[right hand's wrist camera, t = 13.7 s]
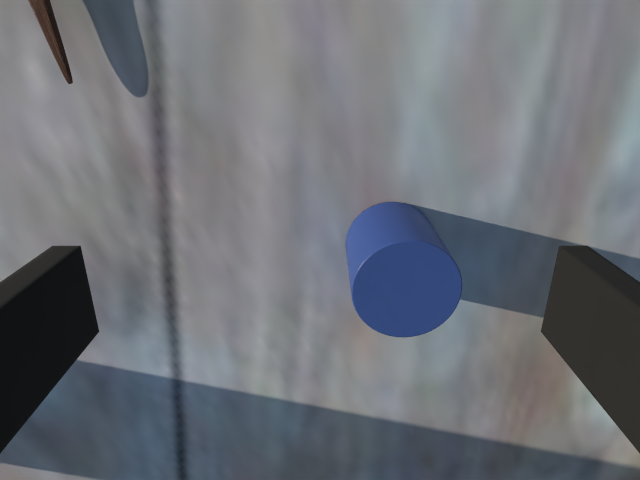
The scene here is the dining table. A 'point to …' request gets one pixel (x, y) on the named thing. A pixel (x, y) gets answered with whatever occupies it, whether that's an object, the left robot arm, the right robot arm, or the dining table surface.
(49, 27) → the fork
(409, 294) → the can
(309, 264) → the dining table surface
